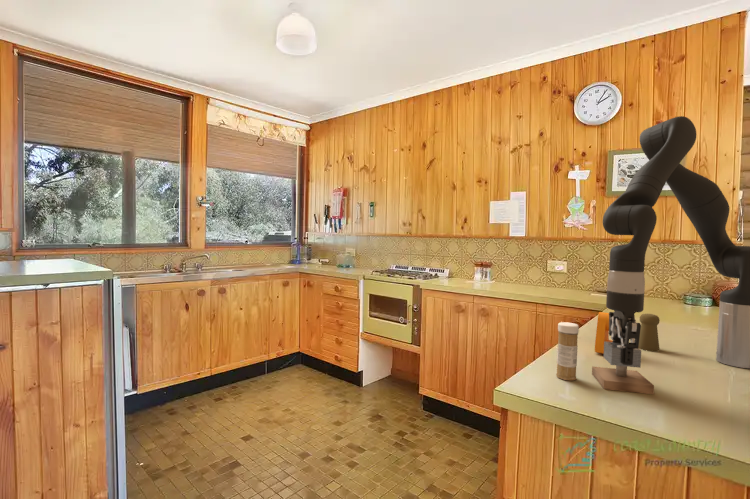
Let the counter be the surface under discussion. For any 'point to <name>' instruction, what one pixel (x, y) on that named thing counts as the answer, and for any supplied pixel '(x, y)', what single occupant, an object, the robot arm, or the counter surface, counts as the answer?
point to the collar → (614, 355)
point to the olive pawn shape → (649, 332)
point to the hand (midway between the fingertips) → (621, 359)
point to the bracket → (602, 332)
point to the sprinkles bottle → (567, 351)
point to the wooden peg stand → (622, 379)
